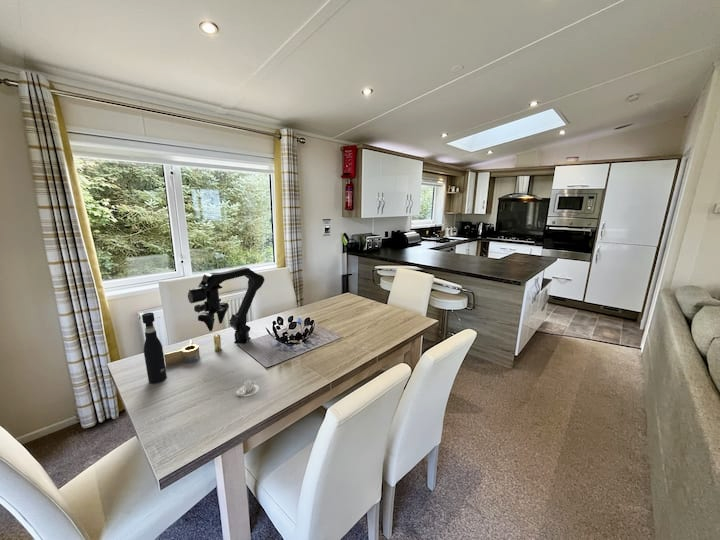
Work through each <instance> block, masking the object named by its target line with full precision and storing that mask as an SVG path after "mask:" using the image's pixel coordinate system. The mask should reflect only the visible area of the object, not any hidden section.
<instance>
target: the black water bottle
mask: <svg viewBox="0 0 720 540" xmlns="http://www.w3.org/2000/svg"><path fill="white" fill-rule="evenodd" d="M141 318H142V323H143V324H145V330H144V334H145V336H144V337H145V341H144V345H143V355H144V360H145V367H146V373H147V379H148V380H147V381H148V383H149V384H151V385H153V384H159V383H161V382H164V381H166V379H167V378H168V377H167V369H166V364H165V357H164V350H163V349H164V348H163V345H162V342H161V340H160V339H159V338H158V335H157V330H156V328H155V326H154V322H155V321H156V320H155V313H154V312H146V313H143V314H141Z"/></svg>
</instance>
